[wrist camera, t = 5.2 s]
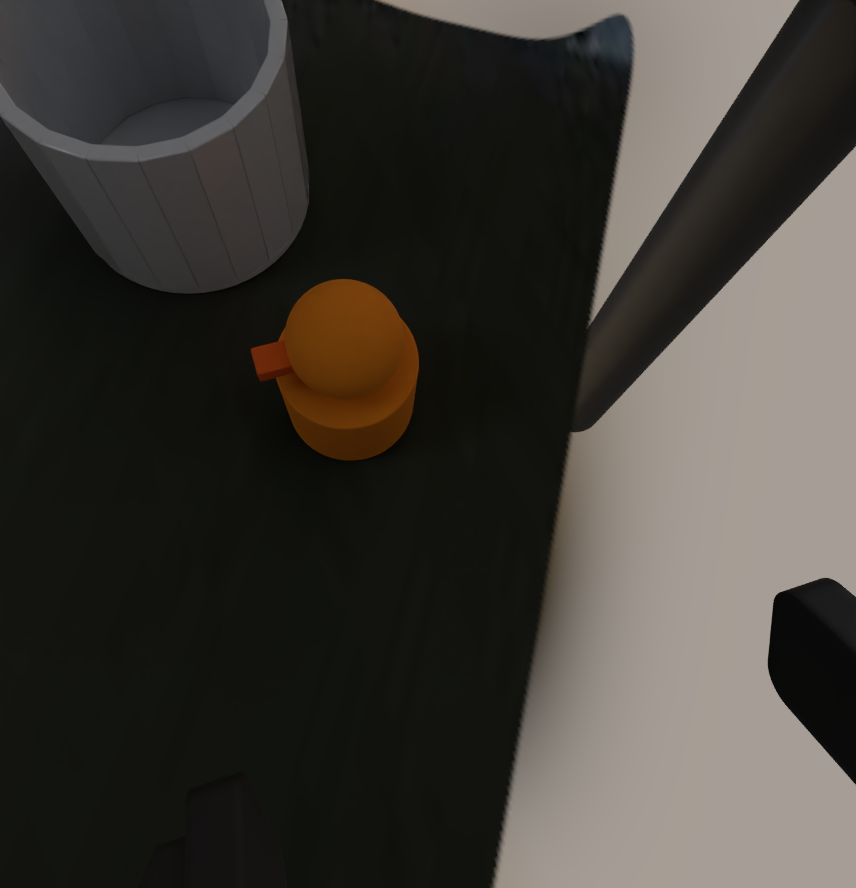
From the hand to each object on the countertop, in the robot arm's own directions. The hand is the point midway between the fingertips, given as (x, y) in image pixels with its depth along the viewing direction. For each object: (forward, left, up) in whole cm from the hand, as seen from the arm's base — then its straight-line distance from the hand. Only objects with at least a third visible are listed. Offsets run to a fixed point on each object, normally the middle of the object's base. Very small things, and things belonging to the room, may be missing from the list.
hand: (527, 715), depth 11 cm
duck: (0, -12, -18) cm, 22 cm away
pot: (+4, -23, -18) cm, 30 cm away
